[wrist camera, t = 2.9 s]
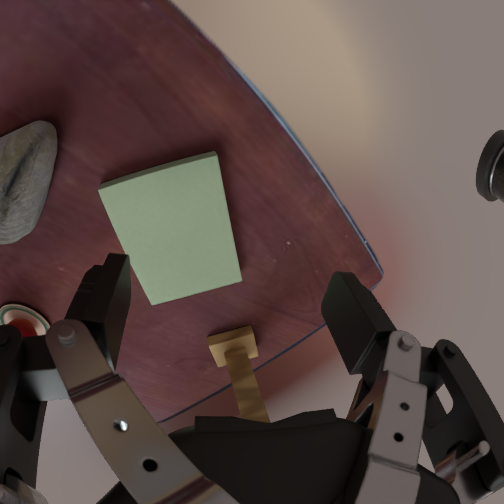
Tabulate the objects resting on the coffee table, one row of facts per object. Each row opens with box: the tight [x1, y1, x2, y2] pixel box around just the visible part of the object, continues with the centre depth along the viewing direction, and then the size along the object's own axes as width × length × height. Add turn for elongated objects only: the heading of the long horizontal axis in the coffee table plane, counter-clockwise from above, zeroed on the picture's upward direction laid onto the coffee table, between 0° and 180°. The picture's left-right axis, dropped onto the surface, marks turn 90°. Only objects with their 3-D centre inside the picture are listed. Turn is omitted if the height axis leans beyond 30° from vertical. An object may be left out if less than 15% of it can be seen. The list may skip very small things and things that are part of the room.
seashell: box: [0, 120, 57, 244], centre depth 17 cm, size 12×8×5 cm
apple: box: [0, 304, 50, 337], centre depth 26 cm, size 8×8×6 cm
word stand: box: [207, 325, 270, 423], centre depth 28 cm, size 6×6×32 cm
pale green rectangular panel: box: [98, 151, 242, 305], centre depth 27 cm, size 10×14×1 cm
